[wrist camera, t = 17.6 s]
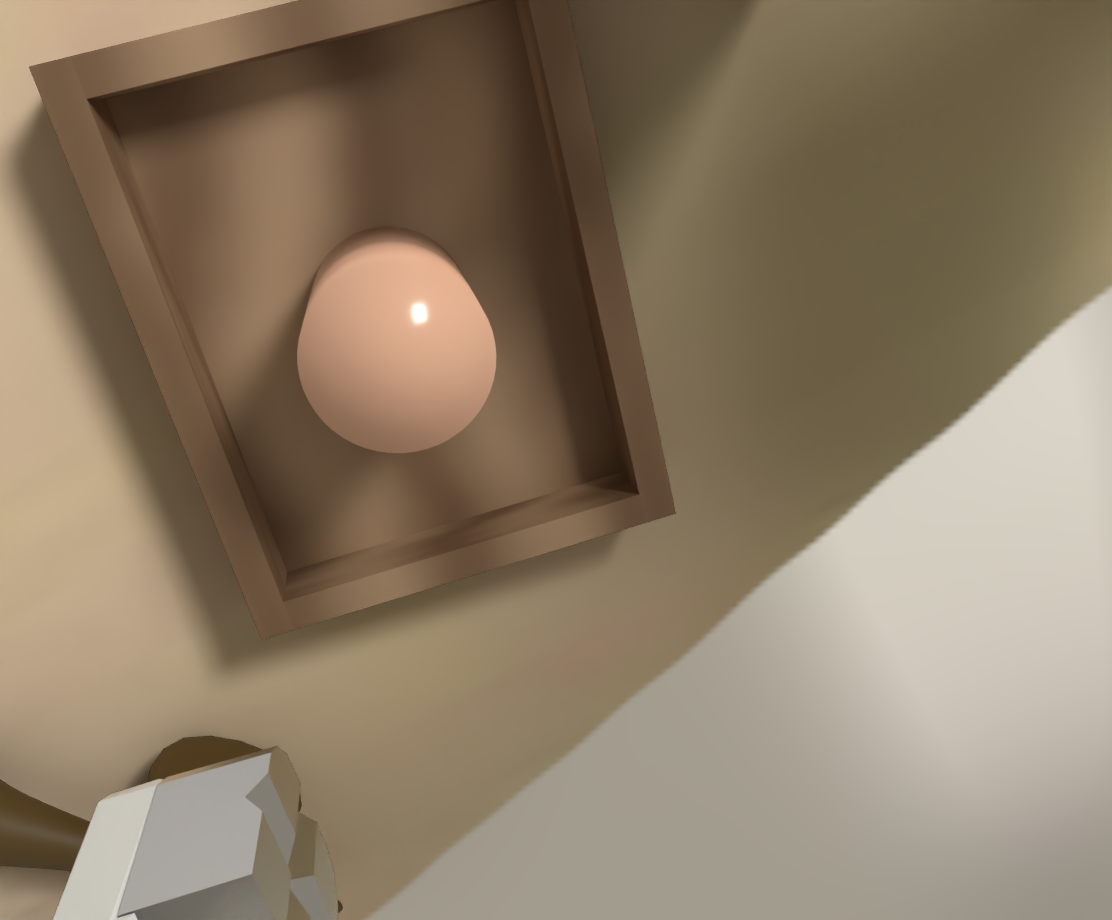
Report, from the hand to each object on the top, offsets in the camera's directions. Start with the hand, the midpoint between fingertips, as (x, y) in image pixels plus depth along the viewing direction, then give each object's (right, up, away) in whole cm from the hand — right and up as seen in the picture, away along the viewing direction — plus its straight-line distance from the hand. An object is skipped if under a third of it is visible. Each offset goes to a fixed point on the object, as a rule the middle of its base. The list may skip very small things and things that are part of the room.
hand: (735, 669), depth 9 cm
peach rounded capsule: (-8, +7, +27) cm, 29 cm away
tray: (-8, +8, +28) cm, 30 cm away
